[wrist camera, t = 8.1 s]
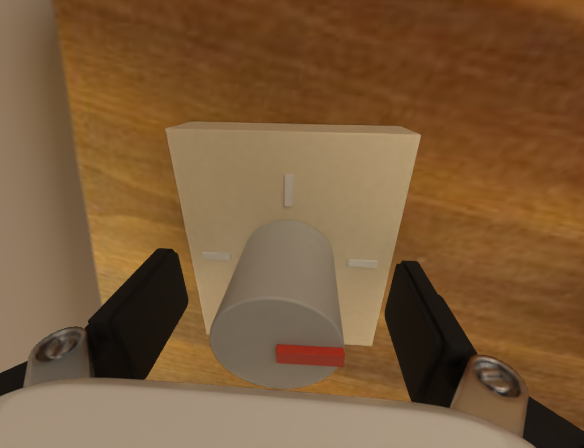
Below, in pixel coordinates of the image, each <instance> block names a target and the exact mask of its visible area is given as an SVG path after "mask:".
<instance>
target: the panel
mask: <svg viewBox="0 0 584 448" xmlns="http://www.w3.org/2000/svg"><path fill="white" fill-rule="evenodd" d="M165 131H166V136H167V141H168V146H169V150H170V155H171V160H172V165H173V170H174V175H175V180H176V185H177V190H178V195H179V200H180V205H181V210H182V214H183V219H184V224H185V229H186V234H187V239H188V244H189V249H190V254H191V259H192V264H193V269H194V274H195V279H196V283H197V288H198V293H199V298H200V303H201V308H202V313H203V318H204V323H205V328H206V333H207V335H210V328H211V325H212V323H213V320H214V318H215V316H216V313H217V311H218V309H219V306H220V304H221V302H222V299H223V297H224V295H225V292H226V290H227V288H228V285H229V283H230V280H231V278H232V276H233V273H234V271H235V269H236V266H237V264H238V262H239V259H240V257H241V255H242V252H243V250H244V248H245V245H246V243H247V241H248V239H249V238H250V236H251V235H252V234H253V233H254V232H255V231H256V230H257V229H259V228H260V227H262V226H264V225H266V224H268V223H272V222H275V221H281V220H291V221H298V222H301V223H305V224H307V225H309V226H311V227H313V228H315V229H316V230H318V231H319V232H320V233H321V234H322V235H323V236H324V237H325V238H326V239H327V241H328V242H329V244H330V246H331V249H332V252H333V258H334V266H335V274H336V282H337V290H338V298H339V306H340V314H341V322H342V330H343V338H344V344H349V345H364V346H372V342H373V338H374V334H375V330H376V325H377V321H378V317H379V313H380V308H381V304H382V300H383V295H384V291H385V287H386V283H387V278H388V274H389V270H390V265H391V261H392V257H393V253H394V248H395V244H396V240H397V236H398V231H399V227H400V223H401V218H402V214H403V210H404V206H405V201H406V197H407V193H408V188H409V184H410V180H411V176H412V171H413V167H414V163H415V159H416V154H417V150H418V146H419V141H420V137H421V135H420V134H418V133H416V132H413V131H411V130H409V129H406V128H404V127H401V126H371V125H326V124H282V123H237V122H192V121H191V122H187V123H184V124H180V125H176V126H173V127H169V128H166V129H165Z"/></svg>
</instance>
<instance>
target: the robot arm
mask: <svg viewBox="0 0 584 448" xmlns="http://www.w3.org/2000/svg"><path fill="white" fill-rule="evenodd" d="M187 305H188V295H187V291H186V286H185V282H184V278H183V273H182V269H181V265H180V260H179V256H178V254H177V253H176V252H174V250H173V249H164V248H158V249H157V250H156V251H155V252H154V253H153V254H152V255H151V256H150V257H149V258H148V259H147V260H146V261H145V262H144V263H143V264H142V265H141V266H140V267H139V268H138V269H137V270H136V271H135V272H134V274H133V275H132V276H131V277H130V278H129V279H128V280H127V281H126V282H125V283H124V284H123V285H122V286H121V287H120V288H119V289H118V290H117V291H116V292H115V293H114V294H113V295H112V296H111V297H110V298H109V299H108V301H107V302H106V303H105V304H104V305H103V306H102V307H101V308H100V309H99V310H98V311H97V312H96V313H95V314H94V315H93V316H92V317H91V318H90V319H89V320H88V323H89V324H88V325H87V326H86V327H85V329H83V328H82V327H68V328H64V329H61V330H58V331H56V332H54V333H52V334H50V335H49V336H47V337H45V338H44V339H42V340H41V341H40V342H39V343H38V344H37V345H36V346H35V347H34V348H33V350H32V351H31V353H30V355H29V357H28V361H26V362H24V363H22V364H19V365H17V366H15V367H13V368H11V369H9V370H6V371H4V372H2V373H0V448H584V431H583V430H581V429H579V428H578V427H576V426H575V425H573V424H572V423H570V422H568V421H567V420H565V419H564V418H562V417H561V416H559V415H557V414H556V413H554V412H553V411H551V410H550V409H548V408H546V407H545V406H543V405H542V404H540V403H538V402H537V401H535V400H534V399H532V398H531V397H529V393H528V388H527V386H526V384H525V381H524V380H523V379H522V378H521V376H520V375H519V374H518V373H517V372H516V371H515V370H514V369H513V368H512V367H510V366H509V365H507V364H506V363H504V362H503V361H501V360H499V359H497V358H494V357H492V356H488V355H478V354H477V352H476V351H475V349H474V347H473V346H472V344H471V343H470V341H469V339H468V338H467V336H466V334H465V333H464V331H463V330H462V328H461V326H460V325H459V323H458V322H457V320H456V318H455V317H454V315H453V314H452V312H451V310H450V309H449V307H448V305H447V304H446V302H445V301H444V299H443V298H442V297H441V296H440V295H438V294H437V292H436V291H435V289H434V287H433V286H432V284H431V283H430V281H429V279H428V278H427V276H426V274H425V273H424V271H423V269H422V268H421V266H420V264H419V263H418V262H417V261H402V262H401V263H400V264H397V265H396V268H395V272H394V276H393V280H392V284H391V288H390V292H389V296H388V300H387V304H386V308H385V320H386V323H387V327H388V330H389V333H390V336H391V339H392V342H393V346H394V349H395V352H396V355H397V358H398V361H399V365H400V368H401V371H402V374H403V377H404V380H405V384H406V387H407V390H408V393H409V396H410V399H411V401H412V402H405V401H396V400H386V399H376V398H366V397H354V396H343V395H331V394H319V393H307V392H296V391H283V390H271V389H258V388H246V387H233V386H220V385H207V384H194V383H180V382H167V381H153V380H144V379H145V378H146V377H147V376H148V374H149V372H150V371H151V369H152V367H153V365H154V364H155V362H156V360H157V358H158V357H159V355H160V353H161V351H162V350H163V348H164V346H165V344H166V343H167V341H168V339H169V337H170V336H171V334H172V332H173V330H174V329H175V327H176V325H177V323H178V322H179V320H180V318H181V316H182V315H183V313H184V311H185V309H186V308H187ZM415 402H416V403H415Z"/></svg>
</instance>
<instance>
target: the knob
mask: <svg viewBox="0 0 584 448" xmlns="http://www.w3.org/2000/svg"><path fill="white" fill-rule="evenodd" d="M209 339H210V346H211V349H212V351H213V353H214V355H215V357H216V358H217V360H218V361H219V362H220V363H221V364H222V366H223V367H225V368H226V369H227V370H228V371H229V372H231V373H232V374H234V375H235V376H237V377H239V378H241V379H243V380H245V381H247V382H250V383H253V384H256V385H260V386H264V387H269V388H279V389H289V388H299V387H304V386H309V385H312V384H315V383H317V382H319V381H321V380H323V379H325V378H326V377H328V376H329V375H330V374H332V373H333V372H334V371H335V370H336V369H337V367H343V365H344V357H345V354H344V338H343V330H342V322H341V314H340V306H339V298H338V290H337V282H336V274H335V266H334V258H333V252H332V249H331V246H330V244H329V242H328V241H327V239H326V238H325V237H324V236H323V235H322V234H321V233H320V232H319V231H318V230H316V229H315V228H313V227H311V226H309V225H307V224H305V223H301V222H298V221H291V220H281V221H275V222H272V223H268V224H266V225H264V226H262V227H260V228H259V229H257V230H256V231H255V232H254V233H253V234H252V235H251V236H250V238H249V239H248V241H247V243H246V245H245V248H244V250H243V252H242V255H241V257H240V259H239V262H238V264H237V266H236V269H235V271H234V273H233V276H232V278H231V280H230V283H229V285H228V288H227V290H226V292H225V295H224V297H223V299H222V302H221V304H220V306H219V309H218V311H217V313H216V316H215V318H214V320H213V323H212V325H211V328H210V335H209Z"/></svg>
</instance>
